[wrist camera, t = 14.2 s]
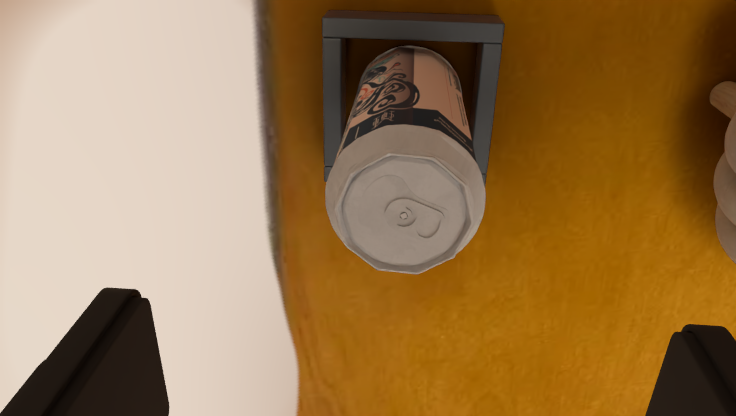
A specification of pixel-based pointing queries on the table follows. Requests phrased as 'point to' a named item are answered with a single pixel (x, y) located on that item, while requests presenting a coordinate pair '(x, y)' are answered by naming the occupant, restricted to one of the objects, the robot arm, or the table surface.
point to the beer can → (406, 166)
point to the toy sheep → (726, 170)
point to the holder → (411, 28)
